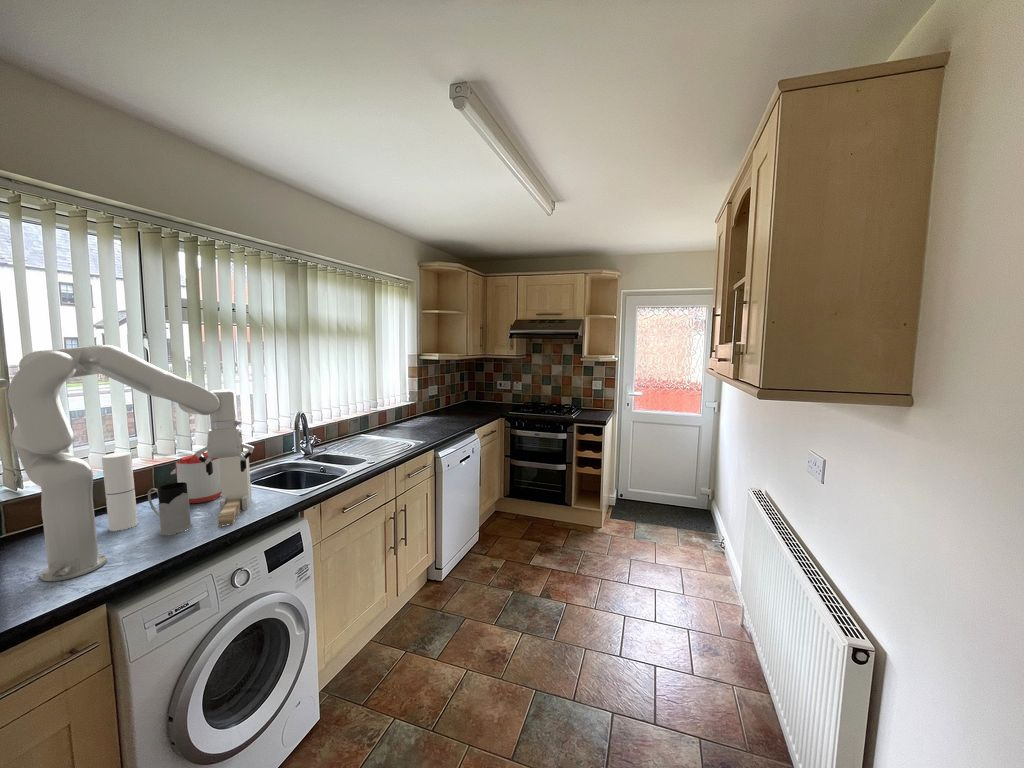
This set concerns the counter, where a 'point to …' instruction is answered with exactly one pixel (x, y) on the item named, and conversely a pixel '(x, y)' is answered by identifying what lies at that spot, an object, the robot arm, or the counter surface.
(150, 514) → the counter surface
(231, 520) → the rail
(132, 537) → the counter surface
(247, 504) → the tall white box
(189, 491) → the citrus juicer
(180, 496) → the grey mug
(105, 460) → the cylindrical container
